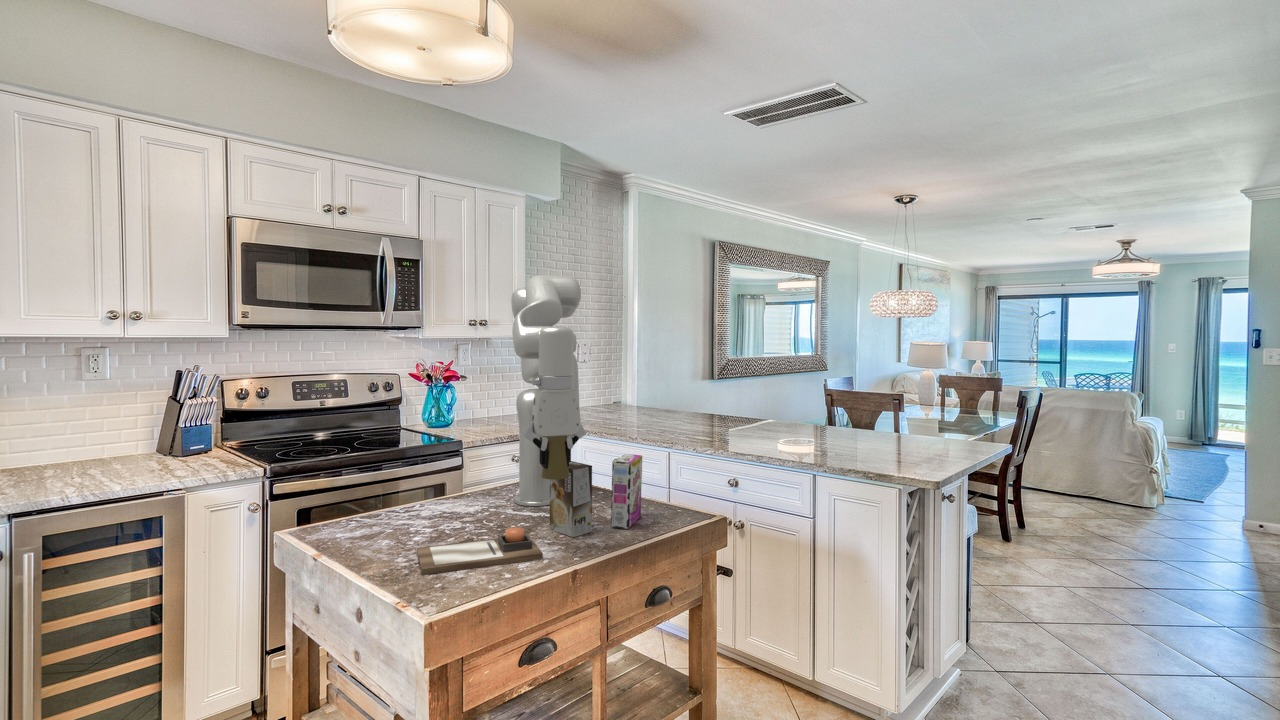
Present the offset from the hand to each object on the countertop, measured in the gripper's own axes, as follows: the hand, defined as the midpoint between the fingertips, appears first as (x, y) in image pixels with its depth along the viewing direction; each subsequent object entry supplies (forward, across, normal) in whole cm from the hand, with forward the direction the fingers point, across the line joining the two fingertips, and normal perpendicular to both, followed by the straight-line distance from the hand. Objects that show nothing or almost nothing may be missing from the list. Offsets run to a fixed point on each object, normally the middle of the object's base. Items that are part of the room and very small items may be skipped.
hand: (555, 465), depth 138 cm
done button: (+15, -9, 0) cm, 18 cm away
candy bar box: (+18, +22, +10) cm, 30 cm away
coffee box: (+18, +7, +10) cm, 22 cm away
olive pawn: (+2, 0, 0) cm, 2 cm away
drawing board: (+18, -16, 0) cm, 24 cm away
